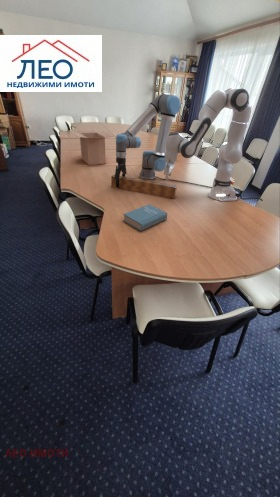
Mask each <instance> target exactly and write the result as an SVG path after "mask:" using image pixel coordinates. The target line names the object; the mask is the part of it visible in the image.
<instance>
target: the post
mask: <svg viewBox="0 0 280 497" xmlns="http://www.w3.org/2000/svg"><path fill="white" fill-rule="evenodd" d="M114 178H115V174H112V175H111V176H110V184H111V185H110V187H111V188H114V189H120V190H126V191H130V192H135V193H141V194H146V195H152V196H157V197H163V198H168V199H172V200H174V199H175V198H176V194H177V187H178V185H176V184H171V183H165V182H159V181H154V180H145V179H141V178H135V177H130V176H126V175H125V176H122V175H120V176H119V188H118V187H116V179H114Z"/></svg>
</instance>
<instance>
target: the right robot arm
mask: <svg viewBox="0 0 280 497" xmlns="http://www.w3.org/2000/svg"><path fill="white" fill-rule="evenodd" d="M225 108H226V109H230V110H232V117H231V120H230V123H229V126H228V130H227V134H226V136H227V139H226V142H224V143H222V144H221V145H220V146H219V148H218V159H217V160H218V162H217V170H216V173H215V177H214V179H213V181H212V186H211V187H212V188H210V191H209V193H208V197H209V198H210V199H212V200H215V201H219V202H232V201H233V202H234V201H238V197H239V198H240V200H242V201H243V200H251V199H252V200H253V199H254V200H256V199H257V200H260V201H261V202H263V199H262V198H261V197H254V196H251V197H244V198H243V197H242V196H243V195H242V194H241V193H239V191H236V190H235V188H234V187H233V185H234V184H235V182H234V181H232V180H231V178H232V174H233V171H234V166H233V165H235V164H237V163H239V162H240V161H241V160H242V159H243V146H244V138H245V134H246V132H247V128H248V125H249V122H250V119H251V115H252V109H253V108H252V105H251V103H250V94H249V91H248V90H246V89H245V88H243V87H230V88H228V89H226V90H221V89H218V90H215V91H214V92H213V93H212V94H211V95H210V96H209V98H208V99H207V100H206V101H205V103H204V104H203V106H202V107H201V109H200V111H199V113H198V126H197V128H196V129H195V131H194V133H193V134H192V135H191V137H190V139H189V138H186V137H184V136H183V135H182V134H181V133H180V132H171V133H169V135H168V138H167V143H166V151H165V159H164V160H165V161H166V164H165V169H164V170H163V174H164V175H165V179H166V180H165V181H169V180H168V179H169V177H171V176H172V172H173V170H174V168H175V166H176V163H177V161H178V155H179V154H181V156H182V157H183V158H184V159H191V158H192V157H194V156H195V155H196V153H197V150H198V147H199V145H200V144H201V142H202V141H203V139H204V137H205V135H206V134H207V132H208V131H209V129H210V127H211V126H212V124H213V123H214V122H215V120H216V119H217V117H218V116H219V115H220V113H221V111H222V110H224V109H225Z"/></svg>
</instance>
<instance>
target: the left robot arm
mask: <svg viewBox="0 0 280 497" xmlns="http://www.w3.org/2000/svg"><path fill="white" fill-rule="evenodd" d="M180 110H181V100H180V98H179V96H177V95H175V94H167V93H161V94H159V95H157V96H156V97H155V98H154V99H153V100H152V101H151V102H150V103H149V104H148V107H147V108H146V109H145V110H144V112H143V113H141V115H139V117H138V118H137V119H136V120H135V121H134V122H133V123H132V124H131V125H130V126H129V127H128V128H127V129H126V131H125V132H121V133H118V134H116V136H115V163H116V164H117V165H115V173H114V175H115V178H114V179H116V187H118V188H117V189H119V176H125V177H126V175H128V173H127V171H128V170H127V166H126V162H127V158H126V157H127V150H128V149H139V148H140V147H141V146H142V139H141V138H140V137H139V136H137V135H138V134H139V133H140V132H141V131H142V129H143V128H144V127H145V126H146V125H148V124H149V122H150V121H151V120H152V119H153V118H154V117H156V116H158V115H159V116H160V117H161V119H160V124H159V128H158V134H157V138H156V143H155V149H154V150H144V151H143V152H142V159H141V160H142V161H141V169H140V172H139V179H142V180H148V181H154V180H156V178H157V179H159V180H163V181H172V182H178V183H179V182H180V183H185V184H189V185H195V186H200V187H205V188H210V189H212V186H208V185H204V184H199V183H194V182H188V181H185V180H184V181H183V180H178V179H169V178H168V180H166V178H161V177H159V176H157V174H156V172H159V173H161V172H164V169H165V164H166V161H165V160H164V159H165V152H166V143H167V138H168V135H169V134H171V133H170V132H171V128H172V124H173V120H174V119H175V118H176V115H177V114H178V113H179V112H180ZM121 173H122V174H121Z"/></svg>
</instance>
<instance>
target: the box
mask: <svg viewBox="0 0 280 497" xmlns="http://www.w3.org/2000/svg"><path fill="white" fill-rule="evenodd" d="M70 133H71V134H72V135H74V136H75V137H77V138H79V144H80V153H81V160H83V162H85V163H86V165H87V166H95V165H97V166H98V165H106V163H107V162H106V158H107V157H106V138H113V137H114V136H113V135H111V134H109V133H108V132H105V131H98V132H96V131H95V130H92V129H91V130H77V132H76V131H70Z"/></svg>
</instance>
